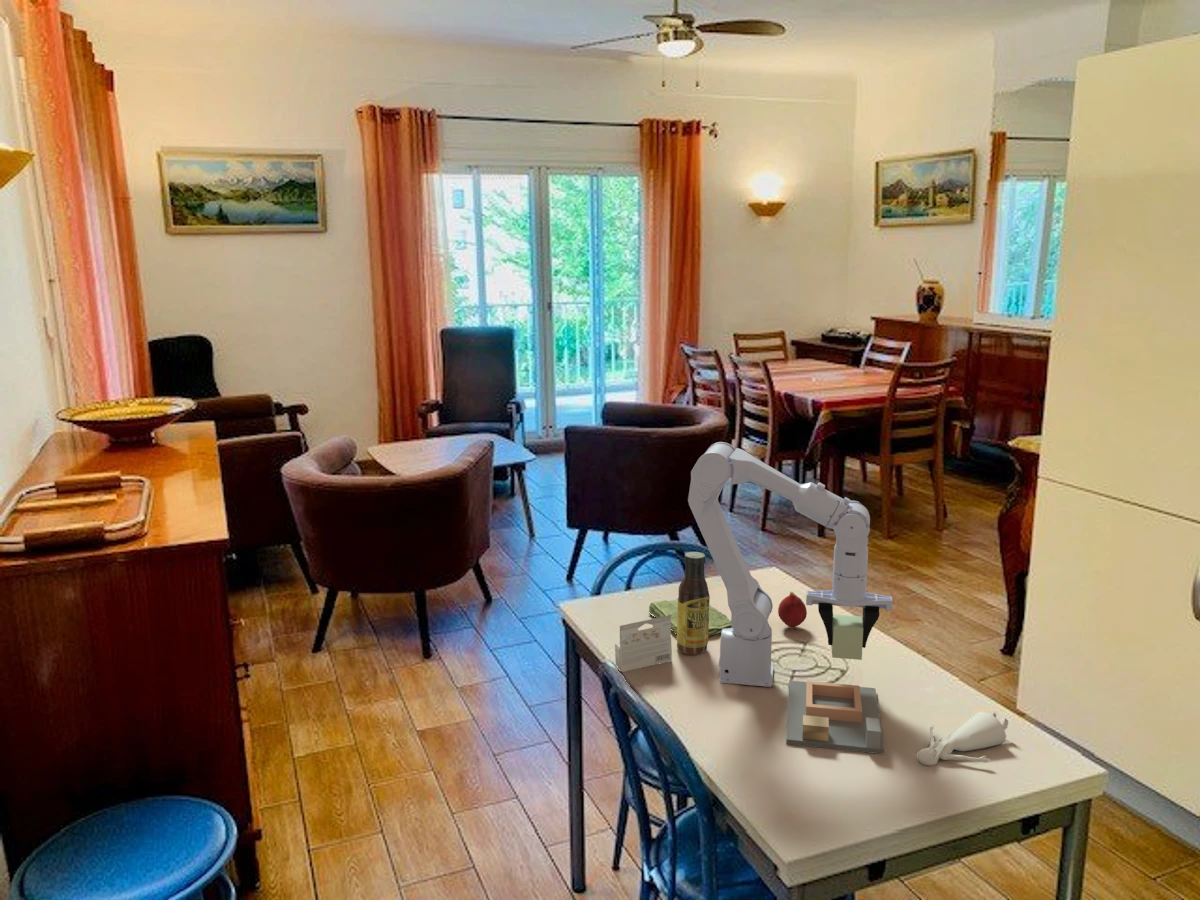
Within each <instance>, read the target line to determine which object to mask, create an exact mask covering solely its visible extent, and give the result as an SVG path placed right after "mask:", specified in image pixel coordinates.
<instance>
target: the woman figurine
mask: <svg viewBox="0 0 1200 900" xmlns="http://www.w3.org/2000/svg"><path fill="white" fill-rule="evenodd" d="M934 726H935V725H934V724H933V725H932V724H930V725H929V735H930V736H929V741H930V742H929V744H930V745H929V747H925V748H922V749H920V750H919V751H918V752H917V754H916V755H917V756H916V757H917V760H918V761H919V763H920V764H922V765H923V766H929V767H930V766H936V765H937V764H938V761H939V759H941V760H944V761H947V760H962V761H974V762H975V761H976V762H982V763H990V762H992V761H991V758H987V755H982V756H980V757H973V756H971V757H970V756H966V755H963V754H962V755H961V754H952V752H953V750H955V751H959V752H968V751H975V750H981V748H982V749H986V747H987V748H989V747H990V748H991V747H995V746H998V745H1002V744H1004V743H1005V742H1006V739H1007V735H1006V731H1005V730H1007V729H1008V726H1009V720H1008V719H1007V718H1004V720H1003V723H1001V721H1000V720H998V718H997V714H996V712H993V714H991V713H988V712H985V711H978V712H976V713H975V714H973V716H972V717H970V718H969V719H967V720H966V721H965V722H964V723H963V724H962V725H960V727H959V728H957V729H956V730H954V731H953V732H952V733H951V734H949V735H948V737H947V739H946V740H945V739H943V737H938V739H937V740H936V741H935V737H934V734H933V733H934V732H933V730H934Z"/></svg>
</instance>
